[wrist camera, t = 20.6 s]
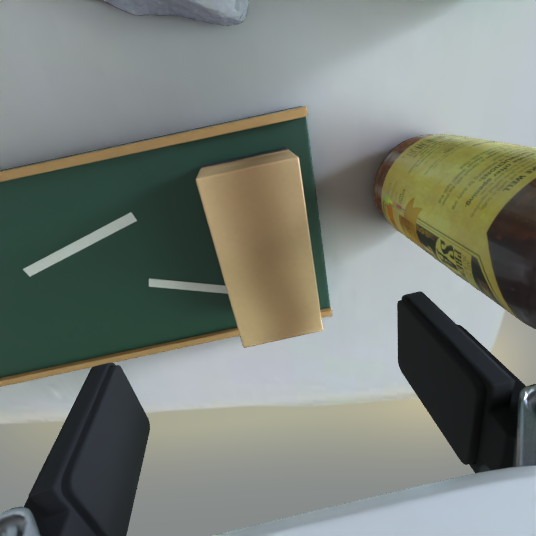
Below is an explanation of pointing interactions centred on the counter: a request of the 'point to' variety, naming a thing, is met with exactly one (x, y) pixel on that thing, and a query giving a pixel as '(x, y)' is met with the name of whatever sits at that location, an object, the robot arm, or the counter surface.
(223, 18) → the stone block
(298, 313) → the eraser
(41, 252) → the chalkboard
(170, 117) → the counter surface
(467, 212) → the sauce bottle
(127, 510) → the robot arm
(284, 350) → the counter surface
